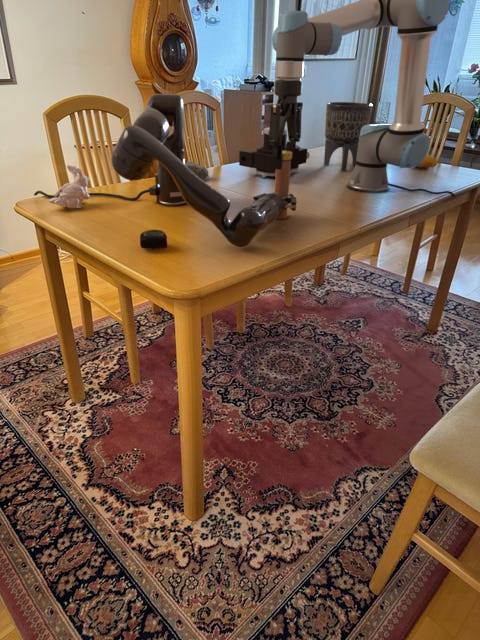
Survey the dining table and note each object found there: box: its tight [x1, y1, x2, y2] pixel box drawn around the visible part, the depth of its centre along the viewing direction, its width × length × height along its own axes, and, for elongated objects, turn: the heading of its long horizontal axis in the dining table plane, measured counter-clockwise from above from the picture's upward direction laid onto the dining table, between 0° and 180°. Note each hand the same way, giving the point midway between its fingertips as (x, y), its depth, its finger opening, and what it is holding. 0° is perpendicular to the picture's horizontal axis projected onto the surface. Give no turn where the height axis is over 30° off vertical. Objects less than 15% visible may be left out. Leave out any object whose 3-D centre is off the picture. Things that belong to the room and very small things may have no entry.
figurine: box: [48, 164, 91, 209], centre depth 145 cm, size 8×15×13 cm, turn 145°
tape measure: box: [139, 229, 168, 250], centre depth 117 cm, size 7×7×4 cm
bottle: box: [274, 160, 291, 220], centre depth 138 cm, size 4×4×19 cm
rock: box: [185, 160, 210, 180], centre depth 181 cm, size 13×9×6 cm, turn 131°
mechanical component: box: [238, 126, 311, 178], centre depth 191 cm, size 22×21×30 cm
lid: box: [282, 151, 292, 160], centre depth 133 cm, size 5×5×2 cm
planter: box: [323, 101, 374, 172], centre depth 204 cm, size 20×20×26 cm
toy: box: [417, 153, 439, 169], centre depth 213 cm, size 11×6×15 cm
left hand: (283, 195), depth 142 cm, fingers closed on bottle, 4 cm apart
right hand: (283, 166), depth 135 cm, fingers open, 7 cm apart
